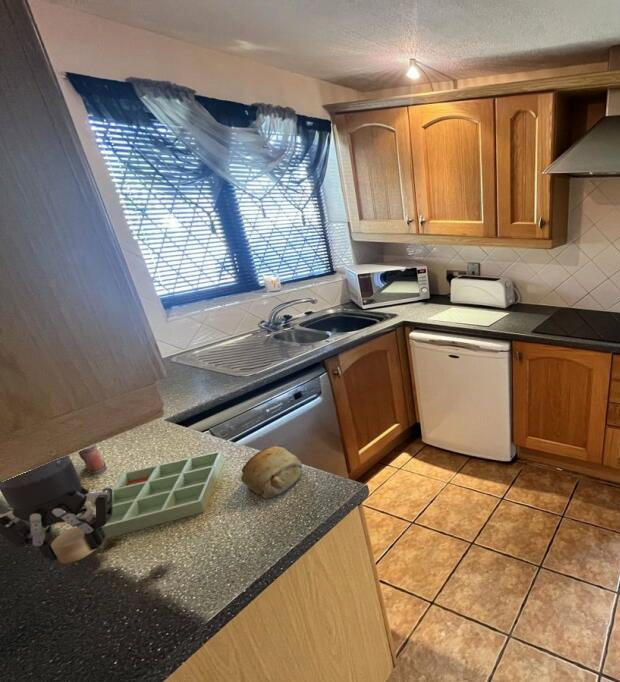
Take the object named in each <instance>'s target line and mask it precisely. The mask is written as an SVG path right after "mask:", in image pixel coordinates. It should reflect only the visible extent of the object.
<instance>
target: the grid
mask: <svg viewBox="0 0 620 682" xmlns="http://www.w3.org/2000/svg"><path fill="white" fill-rule="evenodd" d="M225 461H226V458H225V456H224V452H223V450H218V451H214V452H209V453H205V454H200V455H197V456H192V457H187V458H183V459H177V460H174V461H170V462H166V463H160V464H156V465H152V466H147V467H144V468H139V469H133V470H130V471H125V472H123V473H122V474H121V476H120V477H119V478H118V479H117V481H116V482H115V484H114V485H113V486H112V487H111V489H112V516H111V517H110V519H109V520H108V521H107V523H106V524H105V525H104V526H102V529H103V531H104V533H105V535H106V538H105V540H106V539H110V538H113V537H114V538H115V537H118V536H121V535H124V534H128V533H132V532H135V531H136V532H137V531H139V530H142V529H146V528H151V527H154V526H157V525H158V526H159V525H161V524H165V523H168V522H174V521H176V520H179V519H184V518H187V517H191V516H195V515H199V514H201V513H205V512H206V509H207V506H208V504H209V502H210V499H211V496H212V494H213V491H214V489H215V486H216V485H217V481H218V479H219V476H220V474H221V471H222V468H223V466H224V463H225ZM93 513H94V514H95V515H96V509H95V510H94V511H93Z"/></svg>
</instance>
